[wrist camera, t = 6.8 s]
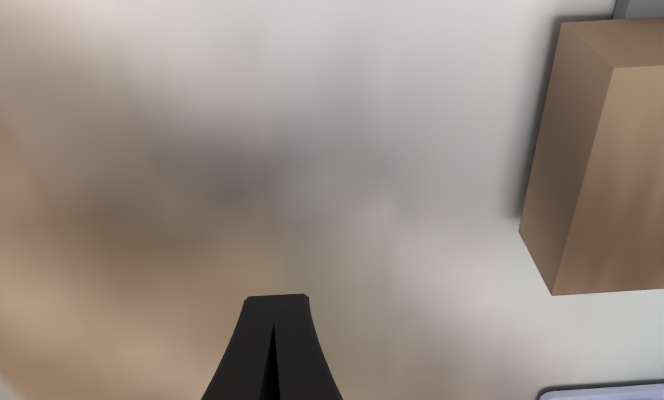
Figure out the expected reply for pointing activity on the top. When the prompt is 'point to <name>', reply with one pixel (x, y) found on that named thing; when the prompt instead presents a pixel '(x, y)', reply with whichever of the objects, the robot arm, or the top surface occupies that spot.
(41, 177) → the top surface
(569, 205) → the slab
